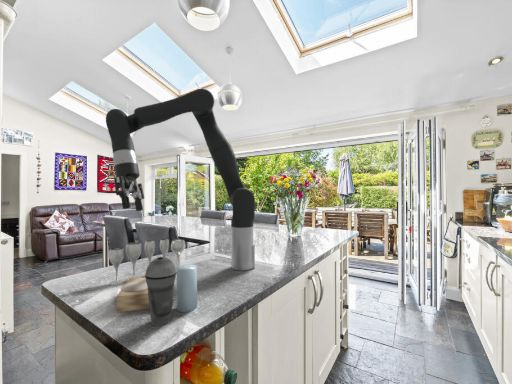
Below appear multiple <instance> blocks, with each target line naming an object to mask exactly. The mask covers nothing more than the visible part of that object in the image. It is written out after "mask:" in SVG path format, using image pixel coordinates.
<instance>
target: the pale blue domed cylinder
mask: <svg viewBox="0 0 512 384" xmlns="http://www.w3.org/2000/svg"><path fill="white" fill-rule="evenodd" d="M176 268H177V271H176V272H177V273H176V311H178V312H179V313H189V312H192V311H195V310H196V309H197V308H198V266H197V265H195V264H183V265H182V264H181V265H179V267H178V266H177V267H176Z"/></svg>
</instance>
